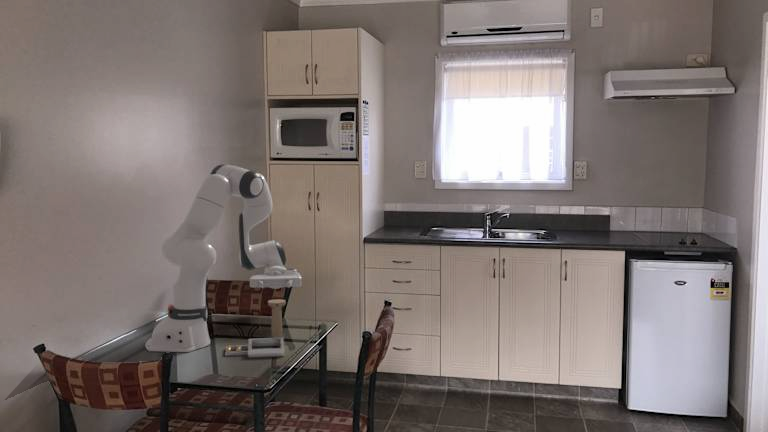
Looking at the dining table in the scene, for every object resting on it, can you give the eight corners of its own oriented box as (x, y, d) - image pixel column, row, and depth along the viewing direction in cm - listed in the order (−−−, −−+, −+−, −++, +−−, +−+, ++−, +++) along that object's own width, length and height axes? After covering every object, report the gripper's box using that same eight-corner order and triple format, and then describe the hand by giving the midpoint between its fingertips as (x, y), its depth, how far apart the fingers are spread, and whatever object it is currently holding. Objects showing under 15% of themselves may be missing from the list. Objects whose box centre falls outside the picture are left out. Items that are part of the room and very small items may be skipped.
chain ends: (224, 358, 225) (224, 351, 224) (226, 346, 237) (226, 339, 236) (284, 356, 228) (284, 348, 228) (283, 344, 240) (283, 337, 240)
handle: (286, 341, 243) (286, 302, 241) (268, 342, 242) (268, 303, 240) (284, 337, 248) (285, 299, 246) (267, 338, 246) (267, 299, 244)
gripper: (249, 270, 265) (248, 278, 252) (300, 269, 269) (302, 277, 255) (249, 285, 266) (248, 294, 253) (300, 284, 270) (302, 292, 256)
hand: (276, 285), depth 254 cm, fingers open, 8 cm apart
